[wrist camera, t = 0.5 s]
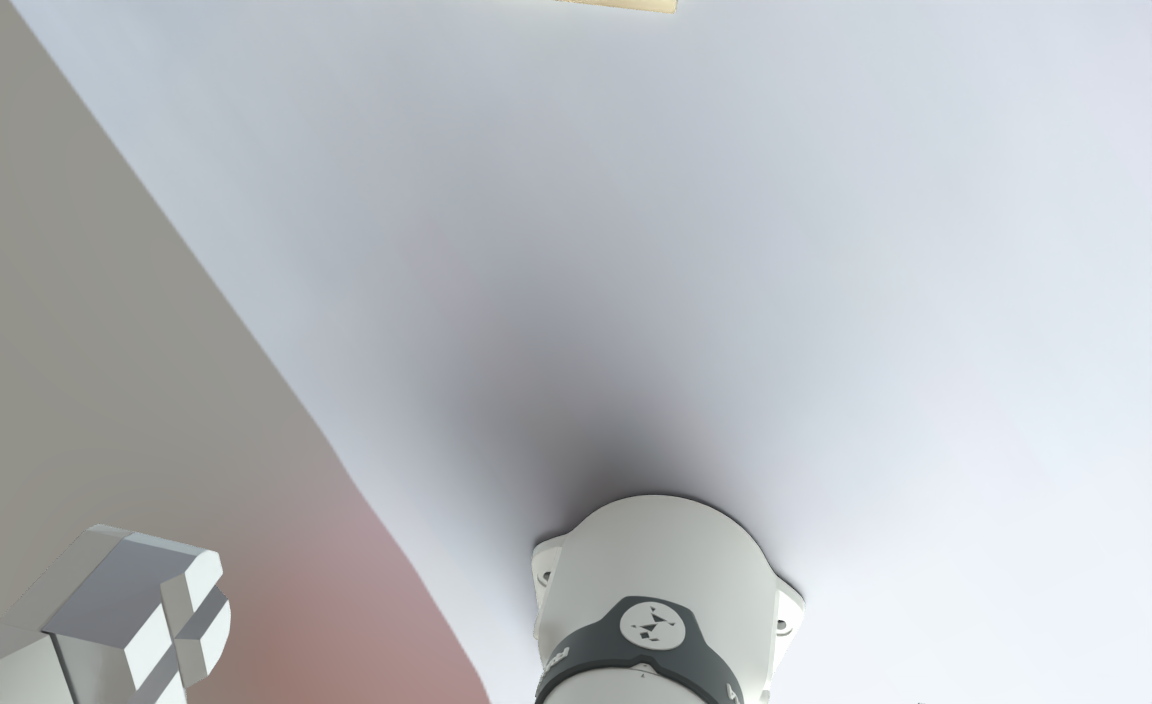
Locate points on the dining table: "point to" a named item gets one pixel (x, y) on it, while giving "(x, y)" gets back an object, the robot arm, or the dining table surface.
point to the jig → (635, 4)
